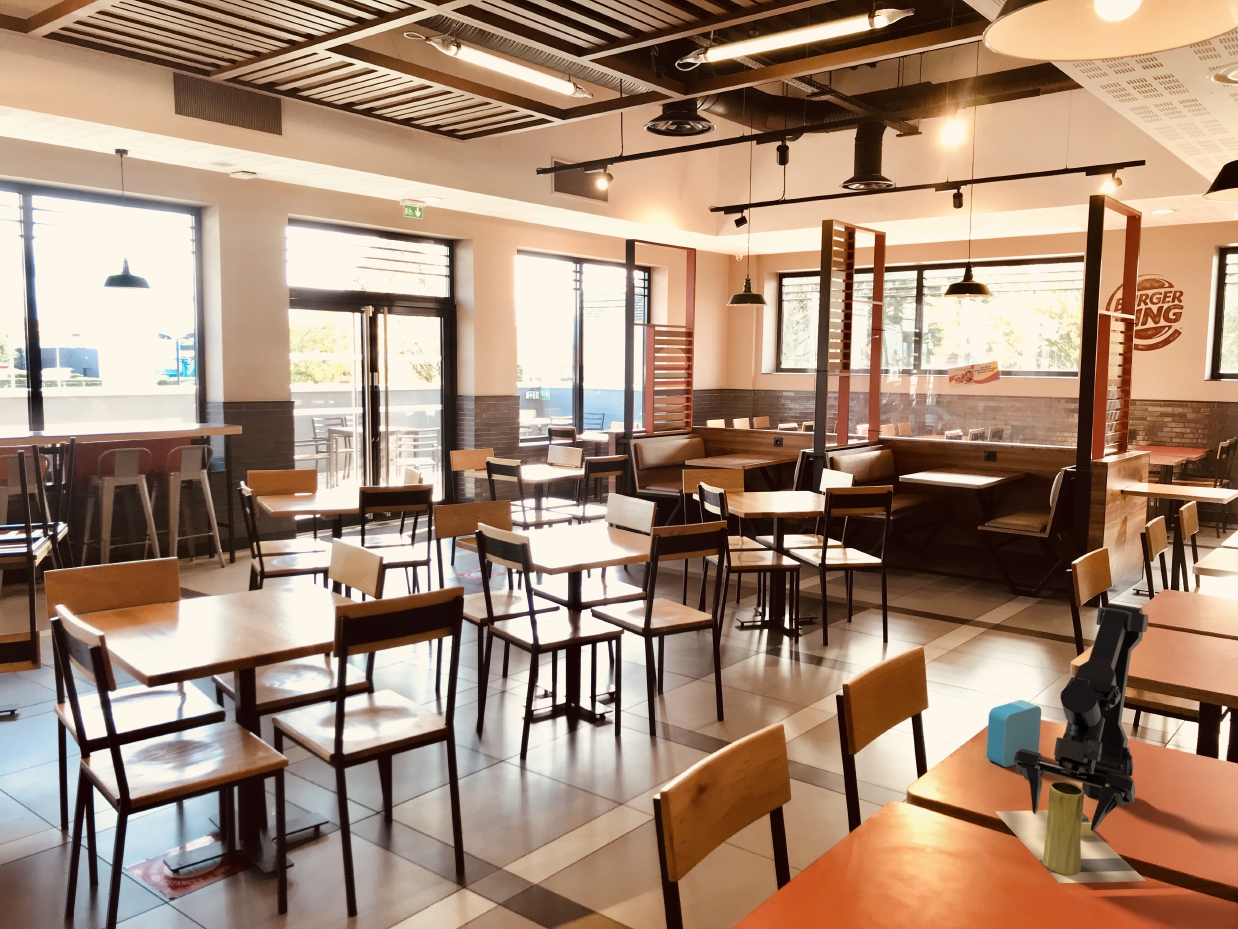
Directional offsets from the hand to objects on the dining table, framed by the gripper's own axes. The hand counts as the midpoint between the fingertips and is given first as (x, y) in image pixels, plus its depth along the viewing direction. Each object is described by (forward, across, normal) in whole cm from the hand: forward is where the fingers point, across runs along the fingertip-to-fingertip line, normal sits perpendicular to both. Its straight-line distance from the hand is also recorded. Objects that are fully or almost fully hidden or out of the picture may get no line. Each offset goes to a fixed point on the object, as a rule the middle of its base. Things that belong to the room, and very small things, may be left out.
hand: (1062, 821), depth 158 cm
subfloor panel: (0, -1, +14) cm, 14 cm away
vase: (+5, 0, +7) cm, 9 cm away
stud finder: (-6, -2, +18) cm, 19 cm away
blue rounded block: (-22, -19, +36) cm, 47 cm away
